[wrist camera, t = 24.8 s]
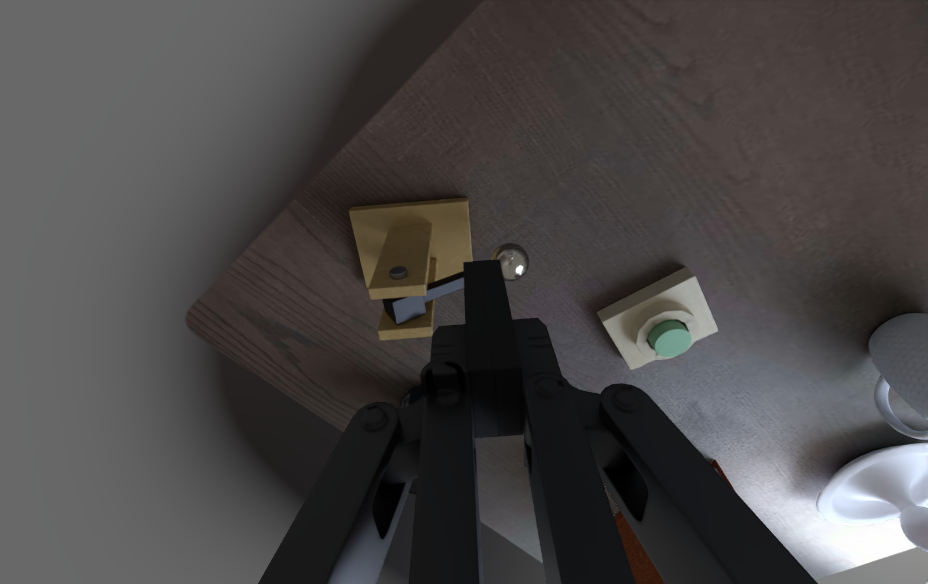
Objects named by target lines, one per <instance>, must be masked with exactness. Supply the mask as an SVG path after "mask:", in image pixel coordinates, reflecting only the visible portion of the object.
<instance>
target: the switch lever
mask: <svg viewBox="0 0 928 584" xmlns="http://www.w3.org/2000/svg"><path fill="white" fill-rule="evenodd" d="M497 259H500V263H501V267H502V272H503V277H504V280H505V281H515V280H518V279H520V278H521V277H523V276H524V274H525V273H526V272H527V270H528V267H529V257H528V254H527V252H526V251H525V250H524V249H523V248H522V247H521V246H520V245H517V244H514V243H506V244H503V245H501V246H499V247H498V248H497V249H496V250H495V251H494V252H493V254H492V257H491V260H497ZM462 288H464V271H462V272H459V273H457V274H454V275H451V276H448V277H446V278H443V279H440V280H437V281H435V282H432V283H429V284H427V293H426V295H424V296H411V297H399V298H386V299H383V304H384V308H385V312H386V313H387V314H388V316H389V317H390V318H391V319H392V320H393V321H394V322H395V324H399V323H402V322H404V321H407V320H409V319H412V318H414V317H417V316H420V315H422V314H425V313H426V307H425V303H426V302H428V301H431V300H433V299H436V298H439V297H441V296H444V295H446V294H449V293H452V292H454V291H457V290H460V289H462Z"/></svg>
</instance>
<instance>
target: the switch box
mask: <svg viewBox="0 0 928 584" xmlns="http://www.w3.org/2000/svg"><path fill="white" fill-rule="evenodd" d="M597 314H598V316H599V318H600V320H601V322H602V323H603V325H604V327H605V328H606V330H607V332H608V333H609V335H610V337H611V338H612V340H613V342H614V343H615V345H616V347H617V348H618V350H619V352H620V353H621V355H622V357H623V358H624V360H625V361H626V363H627V365H628V366H629V368H630V370H634V369H636V368H638V367H640V366H642V365H645V364H647V363H649V362H651V361H653V360H659V359H671V358H673V357H663V356H660V355H659V354H657V353H656V351H655V350H654V348H653V347H652V345H651V343H650V342H649V333H650V331H651V330H652V328H653V327H654V326H655V325H657V324H659V323H661V322H663V321H666V320H676V321H679V322H680V323H682V325H683V326H684V327H685V328H686V330H687V331H688V332H689V333H690V335H691V344H690V346H691V345H692V344H693V343H694V342H695V341H697V340H699V339H702V338H704V337H706V336H708V335H710V334H713V333H715V332H717V331H718V328H717V326H716V324H715V321H714V319H713V316H712V314H711V312H710V309H709V307H708V305H707V302H706V300H705V298H704V295H703V293H702V291H701V288H700V286H699V284H698V281H697V279H696V277H695V275H694V274H693V273H692V272H691V271H690V270H689V269H688V268H687V267H684V268H682V269H680V270H678V271H676V272H674V273H672V274H670V275H668V276H667V277H665V278H663V279H661V280H659V281H657V282H655V283H653V284H651V285H649V286H647V287H645V288H643V289H641V290H639V291H637V292H635V293H633V294H631V295H629V296H627V297H625V298H623V299H621V300H619V301H617V302H615V303H614V304H612V305H610V306H608V307H606V308H604V309H602V310H600V311H598V312H597ZM690 346H689V347H690ZM689 347H688V348H689ZM688 348H687V349H688ZM684 352H685V351H684ZM684 352H683V353H684ZM681 354H682V353H681ZM674 357H675V356H674Z"/></svg>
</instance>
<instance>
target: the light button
mask: <svg viewBox="0 0 928 584" xmlns="http://www.w3.org/2000/svg"><path fill="white" fill-rule="evenodd" d="M649 342H650V343H651V345H652V347H653V348H654V350H655V351H656V353H657V354H659V355H660V356H663V357H674V356H677V355H680V354H681V353H683V352H684V351H686V350H687V348H688V347H689V346H690V344H691V335H690V333H689V332H688V331H687V330H686V328H685V327H684V326H683V325H682V323H680V322H679V321H676V320H666V321H663V322H661V323H659V324H657V325H655V326H654V327H653V328H652V330H651V331H650V333H649Z"/></svg>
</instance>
